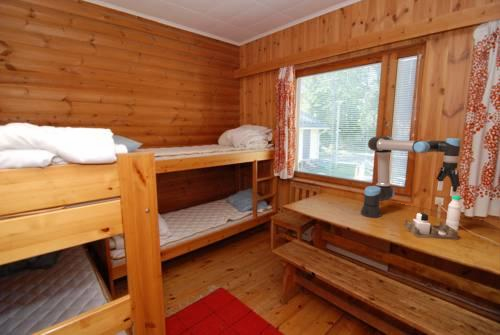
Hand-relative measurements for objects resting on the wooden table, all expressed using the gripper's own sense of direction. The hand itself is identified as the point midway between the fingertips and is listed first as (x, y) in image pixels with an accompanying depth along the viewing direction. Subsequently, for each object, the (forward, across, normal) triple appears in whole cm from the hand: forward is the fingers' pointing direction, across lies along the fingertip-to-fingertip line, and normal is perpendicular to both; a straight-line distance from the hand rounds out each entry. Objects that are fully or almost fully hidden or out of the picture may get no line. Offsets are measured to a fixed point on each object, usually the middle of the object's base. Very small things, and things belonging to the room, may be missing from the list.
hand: (445, 193), depth 160 cm
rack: (+29, +2, -8) cm, 30 cm away
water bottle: (+29, -7, +11) cm, 32 cm away
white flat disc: (+28, +2, -2) cm, 28 cm away
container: (+28, +2, -14) cm, 31 cm away
